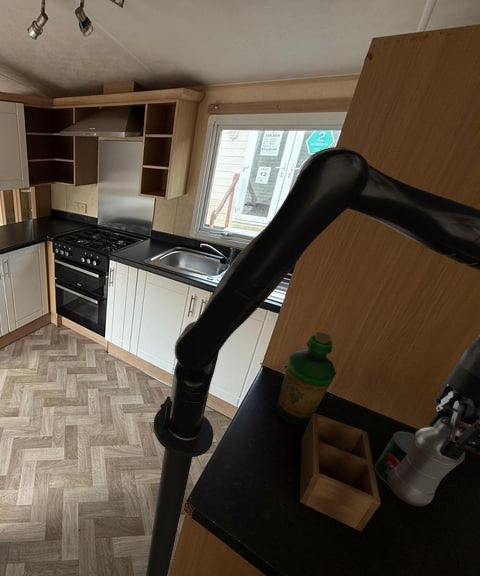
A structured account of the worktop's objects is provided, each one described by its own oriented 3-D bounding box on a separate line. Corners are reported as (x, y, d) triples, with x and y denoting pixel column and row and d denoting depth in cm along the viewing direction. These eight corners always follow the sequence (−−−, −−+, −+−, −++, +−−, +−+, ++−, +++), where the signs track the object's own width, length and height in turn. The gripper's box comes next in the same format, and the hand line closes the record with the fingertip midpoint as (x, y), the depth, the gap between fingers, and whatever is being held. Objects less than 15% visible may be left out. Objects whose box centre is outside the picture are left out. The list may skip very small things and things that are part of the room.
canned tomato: (379, 484, 73) (399, 453, 68) (370, 456, 80) (388, 426, 75) (423, 499, 70) (448, 468, 65) (410, 469, 76) (432, 439, 72)
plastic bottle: (398, 508, 61) (450, 439, 52) (375, 475, 67) (419, 408, 58) (435, 513, 60) (494, 444, 51) (409, 479, 66) (457, 412, 57)
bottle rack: (299, 502, 70) (313, 474, 65) (301, 439, 84) (312, 412, 80) (361, 532, 64) (380, 503, 60) (351, 459, 79) (367, 431, 74)
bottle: (278, 427, 88) (309, 346, 75) (267, 398, 97) (292, 322, 85) (320, 433, 86) (358, 351, 73) (304, 403, 95) (335, 326, 83)
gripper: (446, 340, 57) (405, 407, 64) (479, 389, 46) (425, 463, 53) (507, 354, 53) (456, 423, 61) (558, 411, 42) (488, 487, 50)
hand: (441, 441), depth 57 cm, fingers closed on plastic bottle, 6 cm apart
